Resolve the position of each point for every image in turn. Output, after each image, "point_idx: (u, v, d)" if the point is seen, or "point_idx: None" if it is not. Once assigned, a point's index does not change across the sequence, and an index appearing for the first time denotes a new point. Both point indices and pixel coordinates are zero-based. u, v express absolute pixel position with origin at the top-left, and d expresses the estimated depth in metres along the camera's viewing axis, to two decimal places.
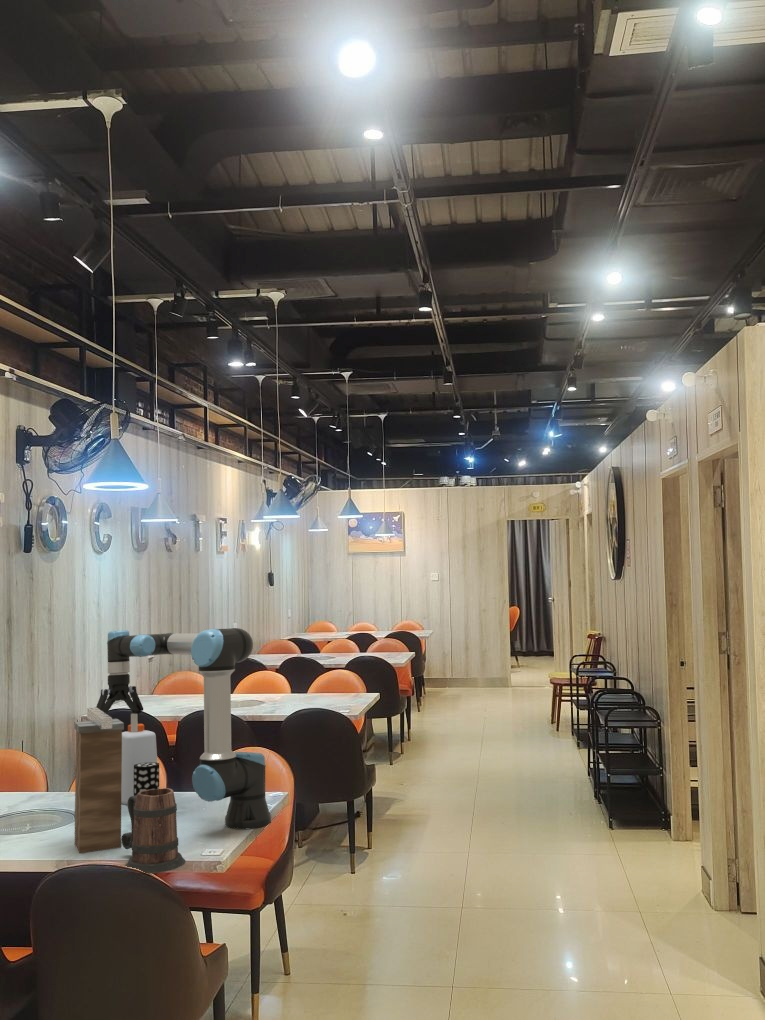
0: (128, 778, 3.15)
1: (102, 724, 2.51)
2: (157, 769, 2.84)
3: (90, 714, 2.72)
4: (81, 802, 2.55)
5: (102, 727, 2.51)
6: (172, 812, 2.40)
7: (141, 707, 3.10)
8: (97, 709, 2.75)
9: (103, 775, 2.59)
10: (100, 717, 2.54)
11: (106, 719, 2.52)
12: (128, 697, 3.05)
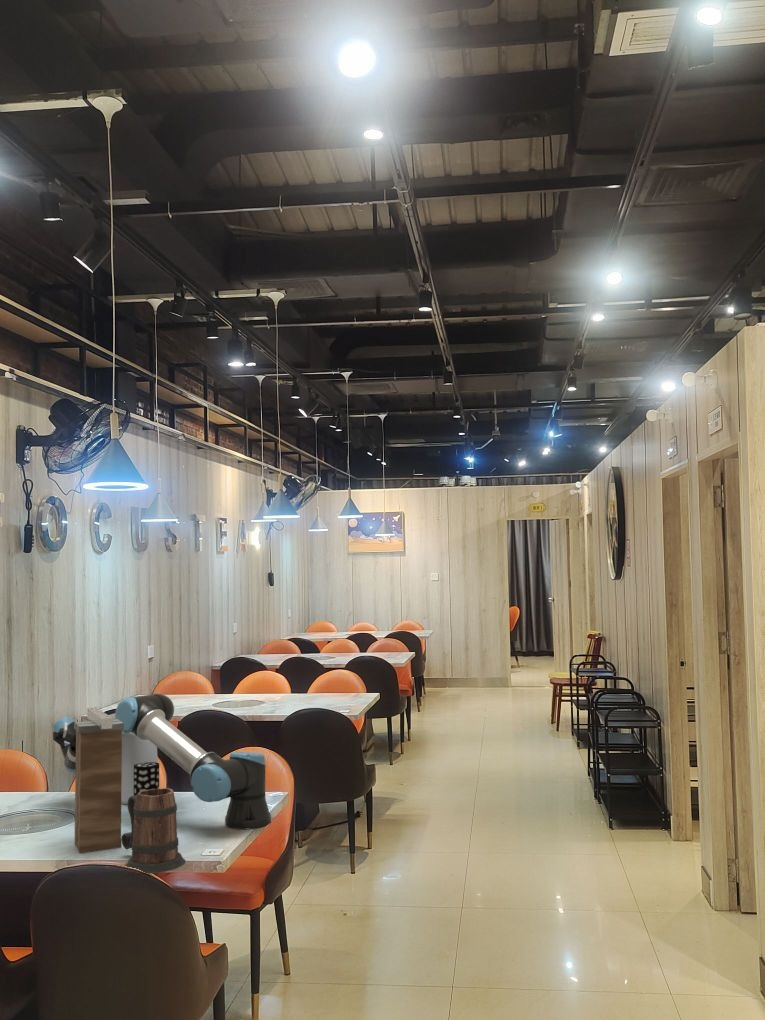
0: (128, 778, 3.15)
1: (102, 724, 2.51)
2: (157, 769, 2.84)
3: (90, 714, 2.72)
4: (81, 802, 2.55)
5: (102, 727, 2.51)
6: (172, 812, 2.40)
7: None
8: (97, 709, 2.75)
9: (103, 775, 2.59)
10: (100, 717, 2.54)
11: (106, 719, 2.52)
12: None
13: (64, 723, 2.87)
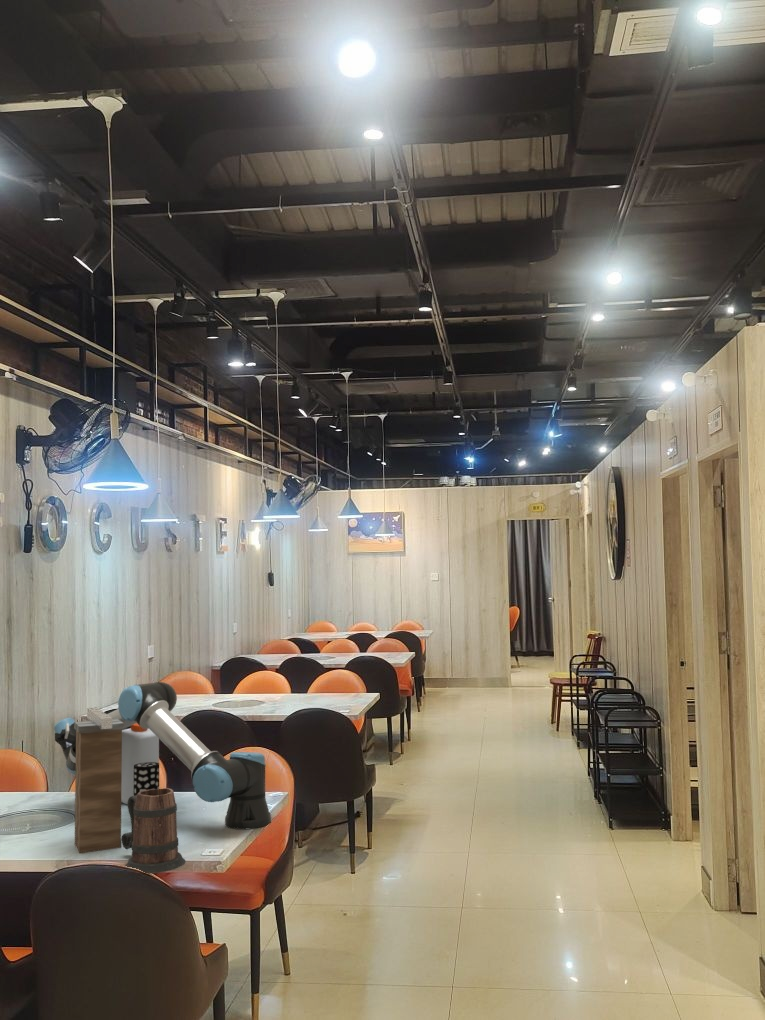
0: (131, 779, 3.14)
1: (102, 724, 2.51)
2: (157, 769, 2.84)
3: (90, 714, 2.72)
4: (81, 802, 2.55)
5: (102, 727, 2.51)
6: (172, 812, 2.40)
7: None
8: (97, 709, 2.75)
9: (103, 775, 2.59)
10: (100, 717, 2.54)
11: (106, 719, 2.52)
12: None
13: (66, 724, 2.82)
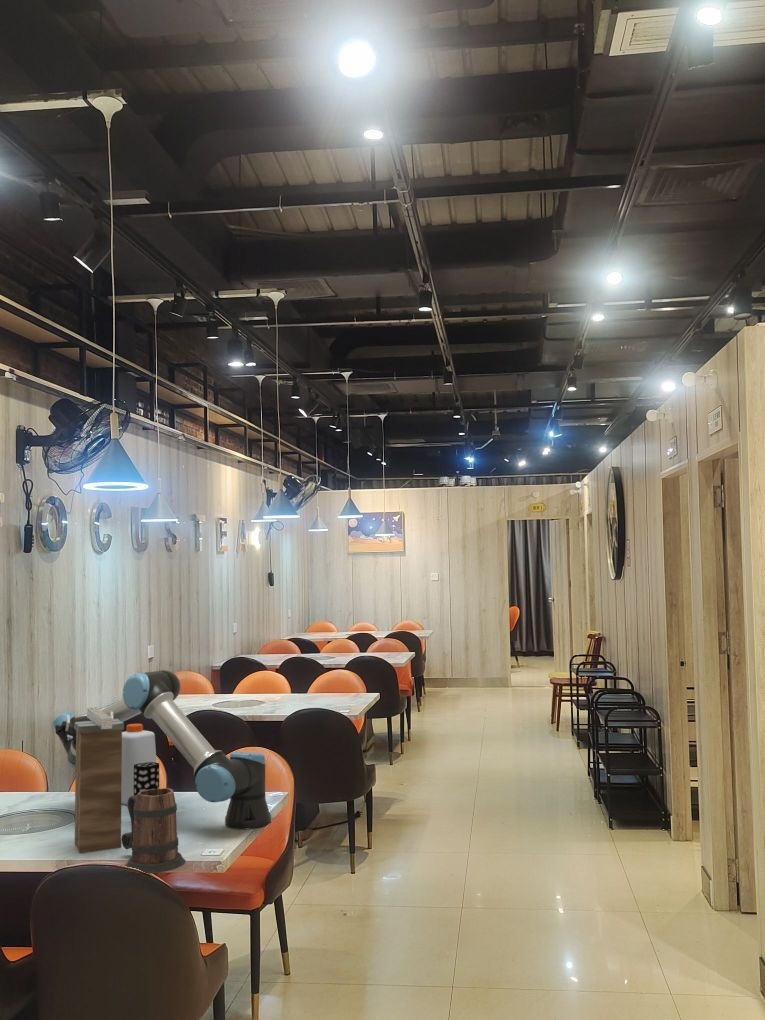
0: (130, 778, 3.15)
1: (102, 724, 2.51)
2: (157, 769, 2.84)
3: (90, 714, 2.72)
4: (81, 802, 2.55)
5: (102, 727, 2.51)
6: (172, 812, 2.40)
7: None
8: (97, 709, 2.75)
9: (103, 775, 2.59)
10: (100, 717, 2.54)
11: (106, 719, 2.52)
12: None
13: (67, 716, 2.77)
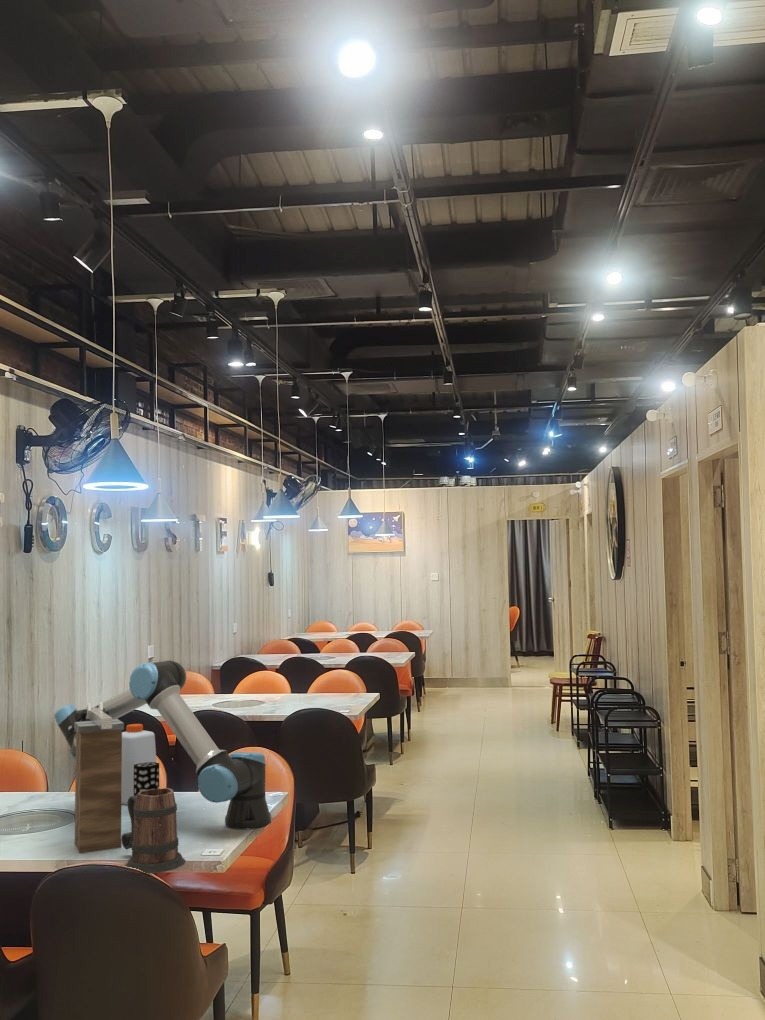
0: (130, 778, 3.15)
1: (102, 724, 2.51)
2: (157, 769, 2.84)
3: (90, 714, 2.72)
4: (81, 802, 2.55)
5: (102, 727, 2.51)
6: (172, 812, 2.40)
7: None
8: (97, 709, 2.75)
9: (103, 775, 2.59)
10: (100, 717, 2.54)
11: (106, 719, 2.52)
12: None
13: (87, 704, 2.73)
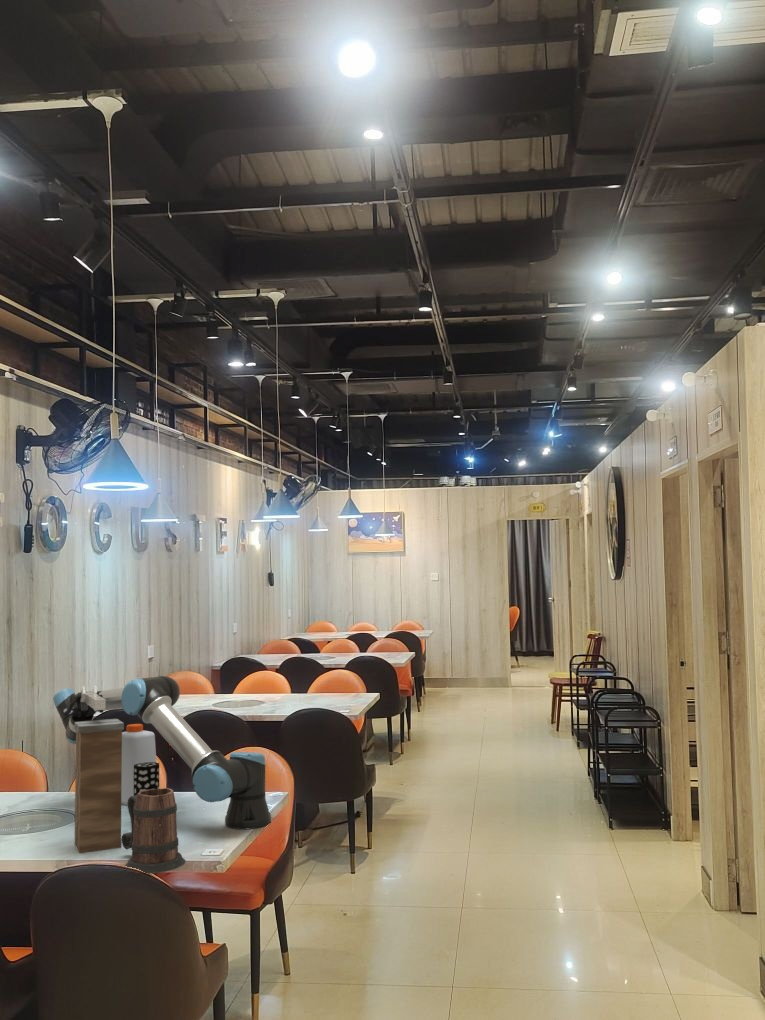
0: (130, 778, 3.15)
1: (96, 705, 2.62)
2: (157, 769, 2.84)
3: (84, 697, 2.83)
4: (81, 802, 2.55)
5: (96, 708, 2.62)
6: (172, 812, 2.40)
7: None
8: (91, 692, 2.86)
9: (103, 775, 2.59)
10: (94, 699, 2.65)
11: (100, 700, 2.63)
12: None
13: (82, 687, 2.84)
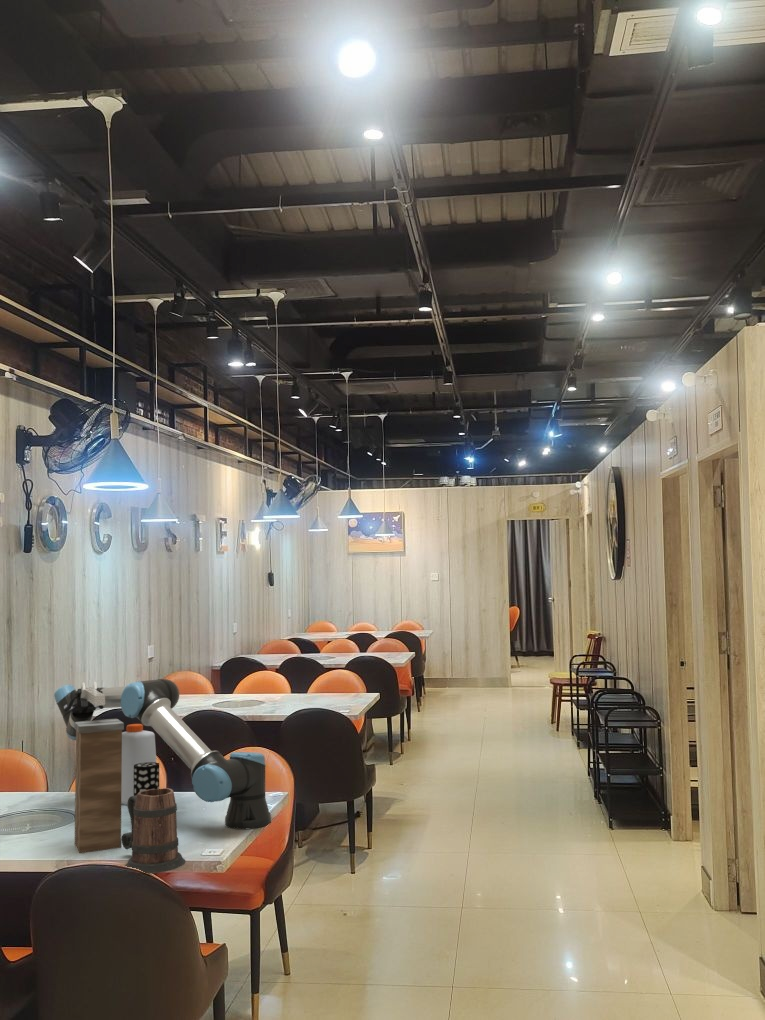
0: (130, 778, 3.15)
1: (95, 701, 2.64)
2: (157, 769, 2.84)
3: (84, 693, 2.85)
4: (81, 802, 2.55)
5: (95, 704, 2.64)
6: (172, 812, 2.40)
7: None
8: None
9: (103, 775, 2.59)
10: (94, 694, 2.67)
11: (99, 696, 2.65)
12: None
13: (82, 683, 2.86)
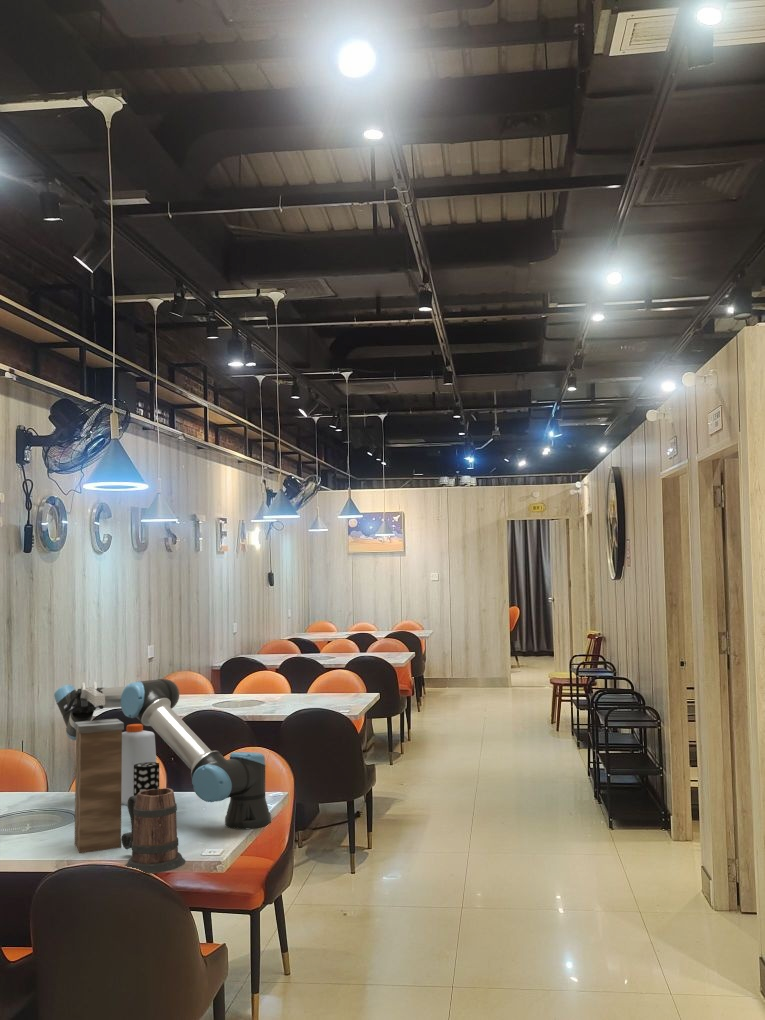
0: (130, 778, 3.15)
1: (95, 701, 2.64)
2: (157, 769, 2.84)
3: (84, 693, 2.85)
4: (81, 802, 2.55)
5: (95, 704, 2.64)
6: (172, 812, 2.40)
7: None
8: None
9: (103, 775, 2.59)
10: (94, 694, 2.67)
11: (99, 696, 2.65)
12: None
13: (82, 683, 2.86)
